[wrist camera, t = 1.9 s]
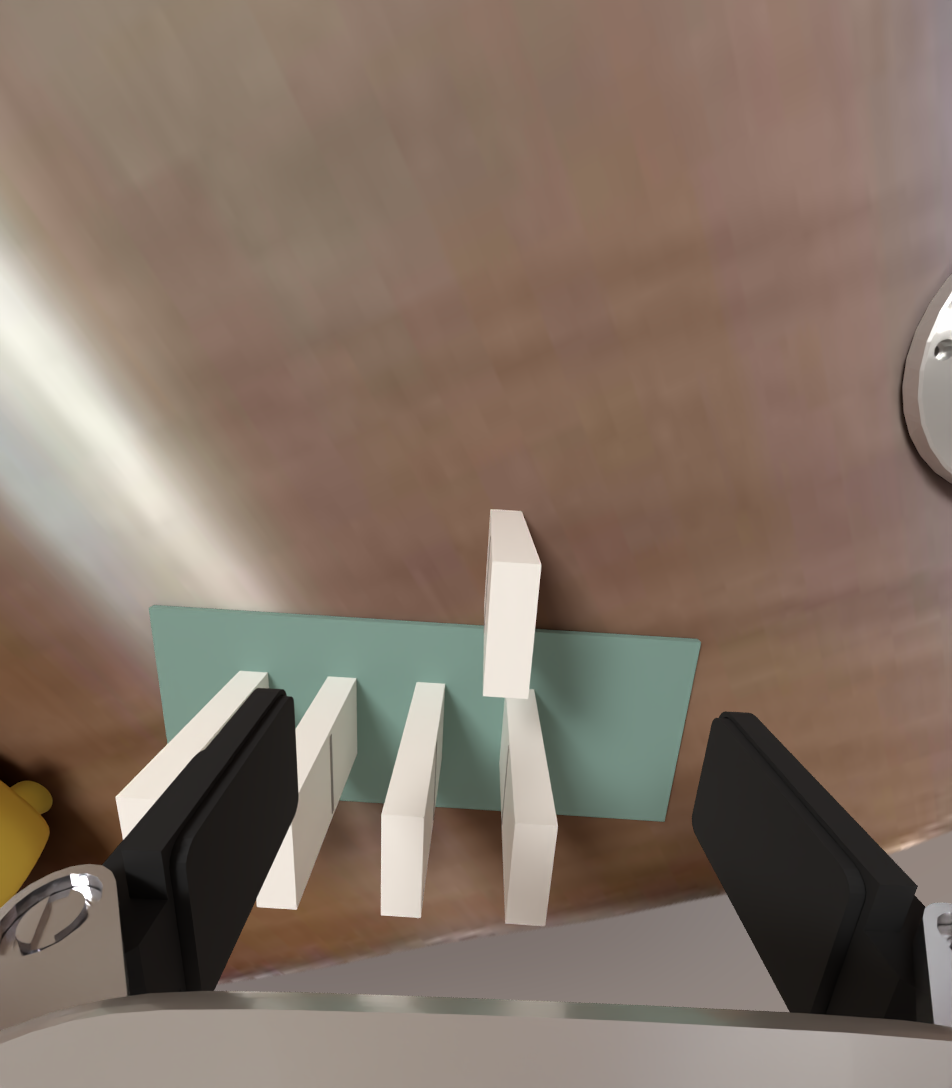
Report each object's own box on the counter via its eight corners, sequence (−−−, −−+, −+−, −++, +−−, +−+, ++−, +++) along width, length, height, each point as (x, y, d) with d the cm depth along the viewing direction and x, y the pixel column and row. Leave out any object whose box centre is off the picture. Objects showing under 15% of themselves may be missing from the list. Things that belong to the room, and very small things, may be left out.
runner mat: (697, 639, 25) (701, 642, 25) (662, 816, 28) (664, 821, 28) (153, 605, 25) (148, 607, 25) (178, 784, 29) (173, 789, 28)
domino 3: (445, 683, 26) (424, 817, 17) (442, 758, 27) (421, 917, 19) (416, 681, 26) (380, 814, 17) (414, 756, 27) (380, 915, 19)
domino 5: (534, 689, 26) (558, 825, 17) (526, 764, 27) (545, 926, 18) (505, 687, 26) (514, 823, 17) (498, 762, 27) (504, 923, 18)
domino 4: (522, 511, 24) (542, 564, 15) (514, 601, 25) (528, 699, 16) (490, 509, 24) (491, 561, 15) (483, 599, 25) (481, 696, 16)
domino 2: (356, 678, 26) (291, 808, 17) (357, 753, 27) (297, 909, 19) (327, 676, 26) (247, 805, 17) (329, 751, 27) (256, 906, 19)
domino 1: (268, 672, 26) (158, 799, 17) (273, 747, 27) (173, 901, 19) (239, 670, 26) (114, 797, 17) (245, 746, 27) (133, 898, 19)
